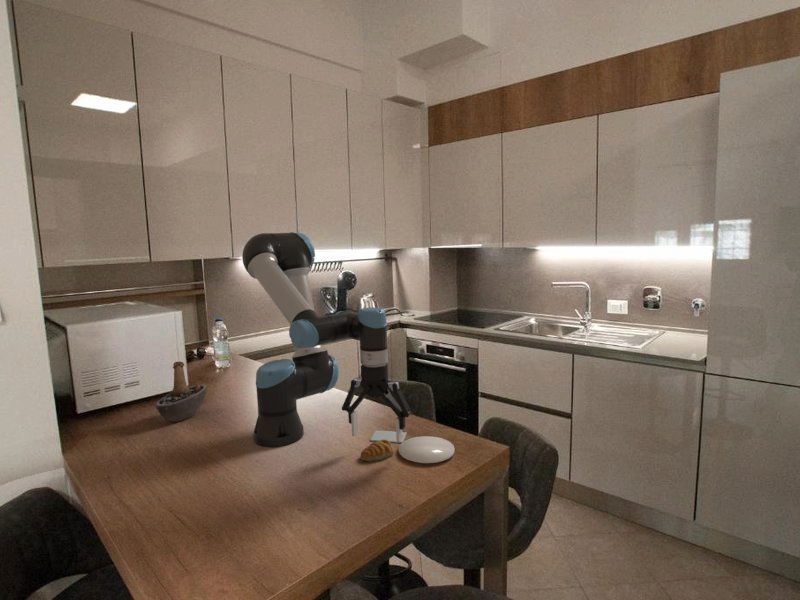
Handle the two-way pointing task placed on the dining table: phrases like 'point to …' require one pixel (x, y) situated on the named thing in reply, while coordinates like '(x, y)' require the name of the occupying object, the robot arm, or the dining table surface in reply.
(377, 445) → the pastry
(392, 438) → the napkin
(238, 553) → the dining table surface
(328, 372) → the robot arm
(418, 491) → the dining table surface
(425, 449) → the plate
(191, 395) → the planter
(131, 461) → the dining table surface
